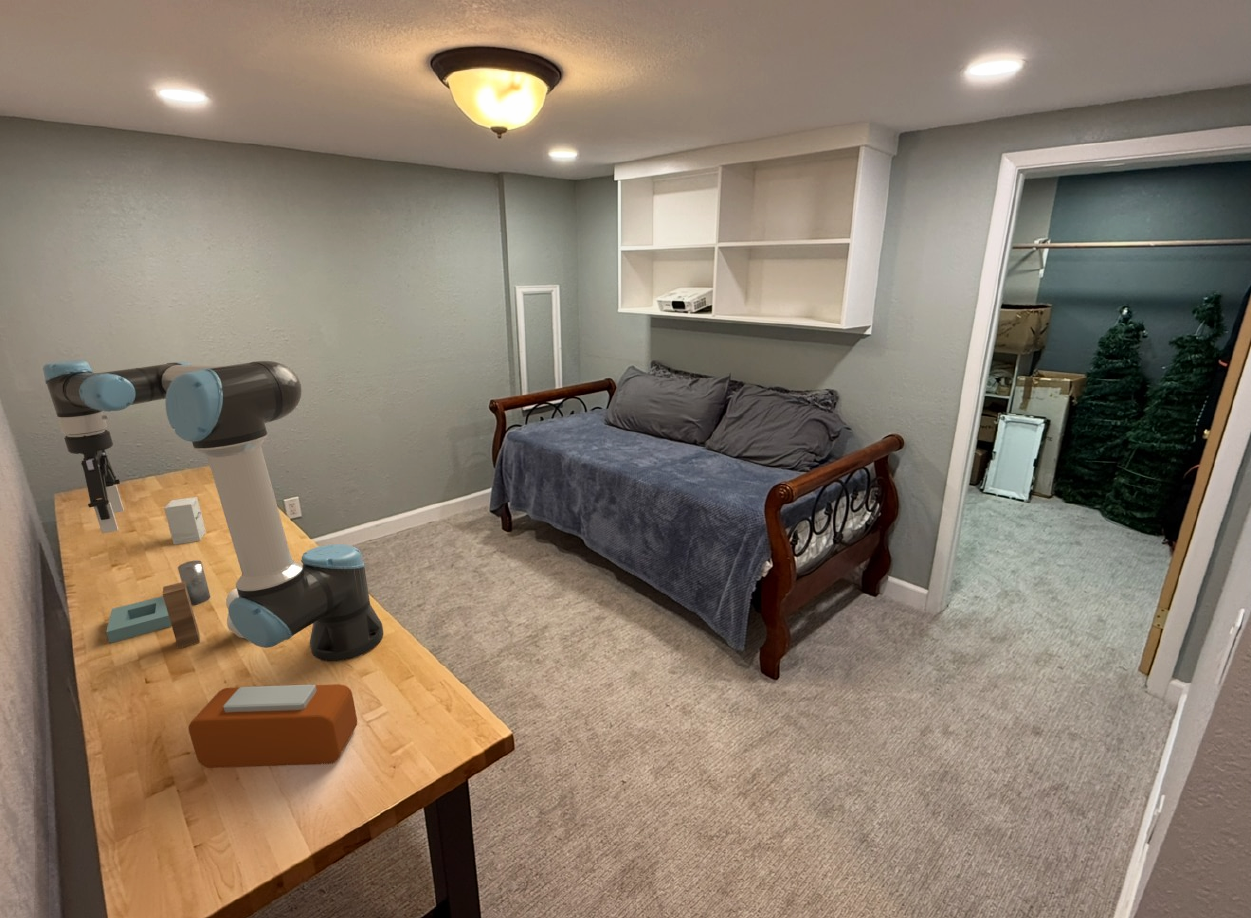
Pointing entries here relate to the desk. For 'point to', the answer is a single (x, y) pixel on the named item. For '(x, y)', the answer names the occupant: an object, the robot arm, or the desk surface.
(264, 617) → the robot arm
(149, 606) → the socket block
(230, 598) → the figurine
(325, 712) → the block with grey pad
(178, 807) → the desk surface
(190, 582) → the round bit
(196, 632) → the square bit
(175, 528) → the supplement box
